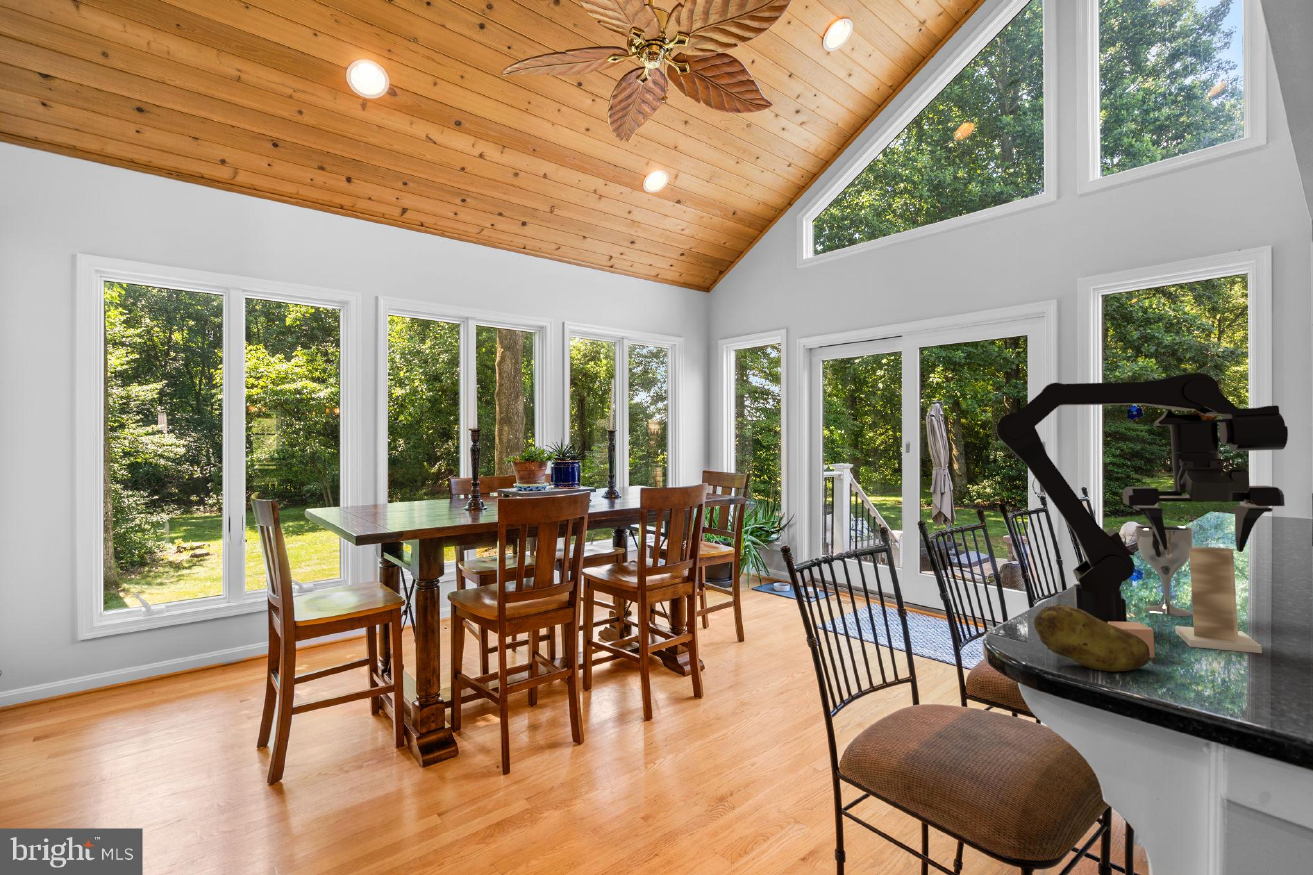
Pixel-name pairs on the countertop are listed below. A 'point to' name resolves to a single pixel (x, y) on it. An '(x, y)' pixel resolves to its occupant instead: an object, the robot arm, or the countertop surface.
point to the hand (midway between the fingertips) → (1201, 550)
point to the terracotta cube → (1138, 632)
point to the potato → (1090, 640)
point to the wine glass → (1165, 560)
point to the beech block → (1213, 593)
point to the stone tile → (1218, 641)
